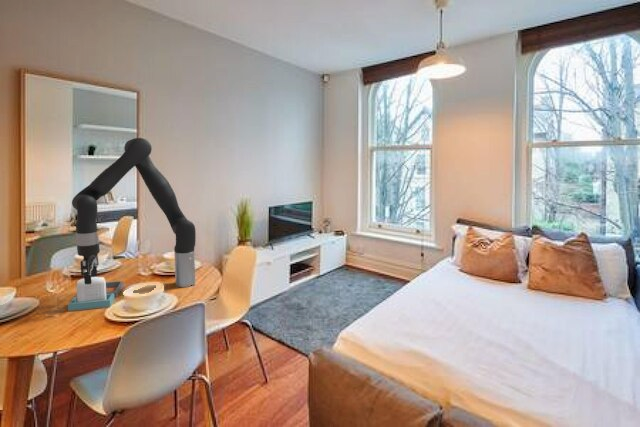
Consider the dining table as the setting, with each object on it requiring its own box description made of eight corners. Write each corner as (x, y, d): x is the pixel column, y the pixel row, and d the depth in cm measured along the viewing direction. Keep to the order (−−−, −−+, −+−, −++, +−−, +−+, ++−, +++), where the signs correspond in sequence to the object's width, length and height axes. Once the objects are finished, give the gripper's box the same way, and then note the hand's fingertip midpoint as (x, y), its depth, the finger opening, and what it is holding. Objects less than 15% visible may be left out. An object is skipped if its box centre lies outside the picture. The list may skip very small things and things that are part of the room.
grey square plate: (123, 285, 162) (123, 280, 161) (116, 297, 148) (115, 292, 148) (87, 288, 157) (87, 283, 156) (77, 300, 143) (76, 295, 143)
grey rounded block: (107, 301, 144) (105, 274, 142) (106, 305, 140) (105, 277, 138) (78, 305, 138) (76, 277, 137) (77, 309, 135) (74, 280, 133)
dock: (114, 299, 145) (114, 293, 145) (110, 306, 138) (109, 300, 138) (75, 303, 140) (74, 296, 140) (68, 311, 133) (68, 304, 133)
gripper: (93, 246, 130) (97, 285, 132) (103, 238, 143) (106, 274, 146) (70, 247, 127) (74, 287, 130) (82, 239, 141) (86, 275, 143)
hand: (91, 280), depth 138 cm, fingers open, 8 cm apart
